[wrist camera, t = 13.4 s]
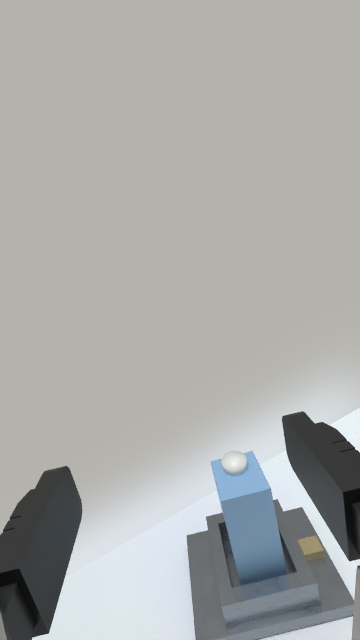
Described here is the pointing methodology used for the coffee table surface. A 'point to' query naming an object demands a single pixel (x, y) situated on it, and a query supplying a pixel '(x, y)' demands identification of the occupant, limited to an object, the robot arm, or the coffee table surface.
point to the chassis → (264, 584)
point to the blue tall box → (249, 517)
